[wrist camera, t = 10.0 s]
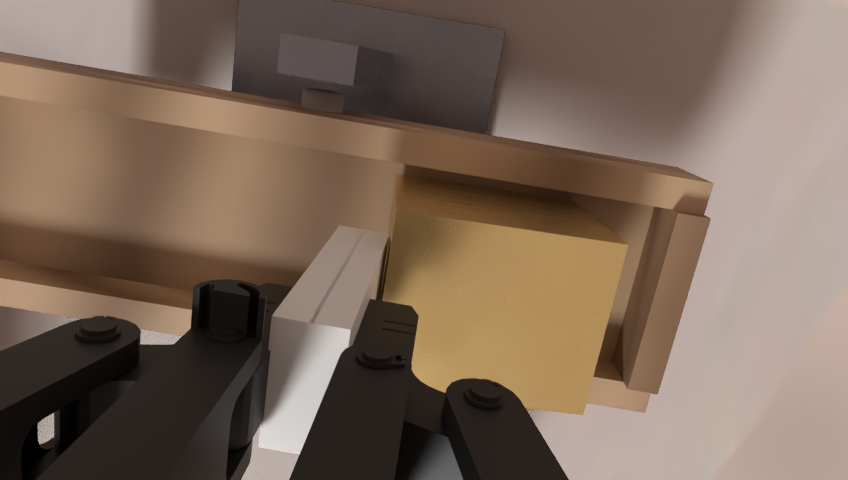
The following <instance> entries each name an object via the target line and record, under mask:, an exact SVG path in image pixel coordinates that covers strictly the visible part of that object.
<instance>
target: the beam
mask: <svg viewBox="0 0 848 480" xmlns="http://www.w3.org/2000/svg"><path fill="white" fill-rule="evenodd" d="M344 98H345V94H343V93H340V92H335V91H330V90H324V89H317V88H308V87H303V91H302V100H301V103H298V102H292V101H286V100H280V99H274V98H268V97H262V96H256V95H251V94H245V93H239V92H233V91H227V90H221V89H215V88H210V87H204V86H198V85H192V84H186V83H180V82H174V81H169V80H163V79H157V78H151V77H145V76H139V75H133V74H127V73H122V72H116V71H110V70H104V69H98V68H92V67H86V66H81V65H75V64H69V63H63V62H57V61H51V60H45V59H40V58H34V57H28V56H22V55H16V54H10V53H4V52H0V306H6V307H12V308H18V309H24V310H30V311H36V312H42V313H48V314H54V315H60V316H66V317H72V318H78V319H85V318H92V317H94V316H104V317H106V316H113V317H116V318H119V319H124V320H128V321H130V322H132V323H134V324H136V325H137V326H138V328H139V329H144V330H150V331H156V332H162V333H168V334H174V335H180V336H183V335H184V334H185V333H186V332H187V331H188V330H189V329H190V328H191V316H192V300H193V286H195V285H197V284H199V283H201V282H206V281H210V280H220V279H231V280H241V281H245V282H249V283H253V284H256V285H258V286H260V285H263V284H265V283H273V284H278V285H284V286H290V287H294V286H295V284H296V283H297V282H298V280H299V279H300V278H301V276H302V275H303V274H304V272H305V271H306V270H307V268H308V267H309V266H310V264H311V263H312V262H313V260H314V259H315V258H316V256H317V255H318V254H319V252H320V251H321V250H322V248H323V247H324V246H325V244H326V243H327V242H328V240H329V239H330V238H331V236H332V235H333V234H334V232H335V231H336V230H337V228H338V227H339V226H340V225H341V226H347V227H352V228H358V229H364V230H370V231H376V232H381V233H387V227H388V221H389V214H390V208H391V201H392V195H393V188H394V181H395V175H396V174H401V175H408V176H414V177H421V178H427V179H434V180H440V181H447V182H453V183H460V184H466V185H473V186H479V187H486V188H492V189H499V190H505V191H512V192H518V193H525V194H531V195H538V196H544V197H551V198H557V199H564V200H570V201H574V202H576V203H577V204H578V205H579V206H581V207H582V208H583V209H584V210H586V211H587V212H588V213H589V214H591V215H592V216H593V217H594V218H596V219H597V220H598V221H599V222H601V223H602V224H603V225H604V226H606V227H607V228H608V229H609V230H611V231H612V232H613V233H614V234H616V235H617V236H618V237H619V238H621V239H622V240H623V241H624V242H626V243H627V244H628V249H627V252H626V256H625V260H624V264H623V267H622V271H621V275H620V278H619V282H618V286H617V290H616V293H615V297H614V301H613V305H612V308H611V312H610V316H609V320H608V323H607V327H606V331H605V335H604V338H603V342H602V346H601V349H600V353H599V357H598V361H597V364H596V368H595V372H594V376H593V379H592V383H591V387H590V391H589V394H588V398H587V402H586V403H590V404H596V405H602V406H608V407H614V408H620V409H626V410H632V411H638V412H644V413H645V411H646V407H647V404H648V401H649V397H650V394H651V393H653V394H658V391H659V388H660V385H661V381H662V378H663V375H664V371H665V368H666V365H667V361H668V358H669V355H670V352H671V348H672V345H673V342H674V338H675V335H676V332H677V328H678V325H679V322H680V319H681V315H682V312H683V309H684V305H685V302H686V299H687V295H688V292H689V289H690V285H691V282H692V279H693V276H694V272H695V269H696V266H697V262H698V259H699V256H700V252H701V249H702V246H703V243H704V239H705V236H706V233H707V229H708V226H709V223H710V218H709V217H707V216H705V215H704V213H705V210H706V207H707V203H708V200H709V197H710V193H711V190H712V187H713V183H712V182H709V181H707V180H705V179H703V178H700V177H698V176H696V175H693V174H691V173H689V172H687V171H684V170H682V169H680V168H678V167H673V166H667V165H661V164H655V163H649V162H643V161H638V160H632V159H626V158H620V157H614V156H608V155H602V154H597V153H591V152H585V151H579V150H573V149H567V148H561V147H555V146H550V145H544V144H538V143H532V142H526V141H520V140H514V139H509V138H503V137H497V136H491V135H485V134H479V133H473V132H468V131H462V130H456V129H450V128H444V127H438V126H432V125H426V124H421V123H415V122H409V121H403V120H397V119H391V118H385V117H380V116H374V115H368V114H362V113H356V112H350V111H344V110H343V105H344Z"/></svg>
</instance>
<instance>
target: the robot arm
mask: <svg viewBox="0 0 848 480" xmlns="http://www.w3.org/2000/svg"><path fill="white" fill-rule="evenodd" d="M389 235H390V234H387V233H381V232H376V231H370V230H364V229H358V228H352V227H347V226H341V225H340V226H339V227H338V228H337V230H336V231H335V232H334V234H333V235H332V236H331V238H330V239H329V240H328V242H327V243H326V244H325V246H324V247H323V248H322V250H321V251H320V252H319V254H318V255H317V256H316V258H315V259H314V260H313V262H312V263H311V264H310V266H309V267H308V268H307V270H306V271H305V272H304V274H303V275H302V276H301V278H300V279H299V280H298V282H297V283H296V284H295V286H294V287H290V286H284V285H278V284H273V283H265V284H263V285H260V286H258V285H256V284H253V283H249V282H245V281H241V280H231V279H220V280H210V281H206V282H201V283H199V284H197V285H195V286H193V300H192V316H191V328H190V329H189V330H188V331H187V332H186V333H185V334H184V335H183V336H182V337H181V338H180V339H179V340H178V341H177V342H176V343H175V344H173V345H140V334H141V330H140V329H139V328H138V326H137V325H136V324H134V323H132V322H130V321H128V320H124V319H119V318H116V317H113V316H106V317H104V316H94V317H92V318H85V319H80V320H76V321H73V322H70V323H67V324H64V325H62V326H60V327H57V328H55V329H52V330H50V331H48V332H45V333H43V334H41V335H38V336H36V337H33V338H31V339H29V340H26V341H24V342H22V343H19V344H17V345H14V346H12V347H10V348H7V349H5V350H2V351H0V480H241V478H242V476H243V474H244V473H245V471H246V469H247V467H248V465H249V463H250V458H251V451H252V441H253V436H254V435H255V433H256V431H257V429H258V427H259V426H260V435H259V444H258V447H260V448H266V449H272V450H277V451H283V452H289V453H294V454H300V455H299V457H298V460H297V462H296V465H295V467H294V470H293V472H292V474H291V477H290V479H289V480H569V479H568V478H567V476H566V474H565V473H564V471H563V470H562V468H561V466H560V465H559V463H558V461H557V460H556V458H555V456H554V455H553V453H552V451H551V450H550V448H549V446H548V445H547V443H546V441H545V440H544V438H543V437H542V435H541V433H540V432H539V430H538V428H537V427H536V425H535V423H534V422H533V420H532V418H531V417H530V415H529V413H528V412H527V410H526V408H525V407H524V405H523V404H522V402H521V400H520V399H519V398H518V397H517V396H516V395H515V394H514V392H513V391H511V390H509V389H508V388H506V387H504V386H502V385H501V384H500V383H497V382H495V381H494V382H492V380H488V379H477V378H467V379H460V380H457V381H454V382H452V383H451V384H450V385H449V386H448V387H447V389H446V393H444V392H441V391H439V390H436V389H434V388H432V387H430V386H428V385H426V384H425V383H423V382H421V381H420V380H419V379H418V378H417V377H416V376H415V375H414V373H413V371H412V364H411V363H412V357H413V350H414V344H415V337H416V331H417V324H418V318H419V315H418V314H417V313H416V311H415V310H414V309H413V307H412V306H409V305H403V304H398V303H392V302H386V301H380V294H381V287H382V281H383V274H384V268H385V261H386V255H387V248H388V242H389ZM52 413H54V438H52V439H50V440H49V441H47V442H46V443H43V444H40V445H39V442H38V429H37V423H38V422H40V421H41V420H42V419H43V418H45V417H47V416H49V415H50V414H52ZM260 424H261V425H260Z"/></svg>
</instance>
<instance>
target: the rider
mask: <svg viewBox="0 0 848 480" xmlns="http://www.w3.org/2000/svg"><path fill="white" fill-rule="evenodd" d="M387 234H390V235H389V242H388V248H387V255H386V261H385V268H384V274H383V281H382V287H381V294H380V301H386V302H392V303H398V304H403V305H409V306H412V307H413V309H414V310H415V311H416V313H417V314H418V315H419V318H418V324H417V331H416V337H415V344H414V350H413V357H412V363H411V364H412V371H413V373H414V375H415V376H416V377H417V378H418V379H419V380H420V381H421V382H423V383H425V384H426V385H428V386H430V387H432V388H434V389H436V390H439V391H441V392H444V393H446V389H447V387H448V386H449V385H450V384H451V383H452V382H454V381H457V380H460V379H467V378H477V379H488V380H492V382H494V381H495V382H497V383H500V384H501V385H502V386H504V387H506V388H508V389H509V390H511V391H513V392H514V394H515V395H516V396H517V397H518V398H519V399H520V400H521V402H522V404H523V405H524V407H525V408H530V409H538V410H546V411H555V412H563V413H571V414H579V415H583V413H584V409H585V406H586V402H587V398H588V394H589V391H590V387H591V383H592V379H593V376H594V372H595V368H596V364H597V361H598V357H599V353H600V349H601V346H602V342H603V338H604V335H605V331H606V327H607V323H608V320H609V316H610V312H611V308H612V305H613V301H614V297H615V293H616V290H617V286H618V282H619V278H620V275H621V271H622V267H623V264H624V260H625V256H626V252H627V249H628V244H627V243H626V242H624V241H623V240H622V239H621V238H619V237H618V236H617V235H616V234H614V233H613V232H612V231H611V230H609V229H608V228H607V227H606V226H604V225H603V224H602V223H601V222H599V221H598V220H597V219H596V218H594V217H593V216H592V215H591V214H589V213H588V212H587V211H586V210H584V209H583V208H582V207H581V206H579V205H578V204H577V203H576V202H574V201H570V200H564V199H557V198H551V197H544V196H538V195H531V194H525V193H518V192H512V191H505V190H499V189H492V188H486V187H479V186H473V185H466V184H460V183H453V182H447V181H440V180H434V179H427V178H421V177H414V176H408V175H401V174H396V175H395V181H394V188H393V195H392V201H391V208H390V214H389V221H388V227H387Z"/></svg>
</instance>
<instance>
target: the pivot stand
mask: <svg viewBox="0 0 848 480" xmlns="http://www.w3.org/2000/svg"><path fill="white" fill-rule="evenodd" d="M504 34H505V30H503V29H497V28H492V27H486V26H480V25H474V24H468V23H462V22H456V21H451V20H445V19H439V18H433V17H427V16H421V15H415V14H410V13H404V12H398V11H392V10H386V9H380V8H374V7H368V6H363V5H357V4H351V3H345V2H339V1H333V0H239V1H238V14H237V28H236V41H235V54H234V67H233V80H232V91H233V92H239V93H245V94H251V95H256V96H262V97H268V98H274V99H280V100H286V101H292V102H298V103H301V100H302V91H303V87H308V88H317V89H324V90H330V91H335V92H340V93H343V94H345V98H344V105H343V110H344V111H350V112H356V113H362V114H368V115H374V116H380V117H385V118H391V119H397V120H403V121H409V122H415V123H421V124H426V125H432V126H438V127H444V128H450V129H456V130H462V131H468V132H473V133H479V134H485V133H486V128H487V123H488V118H489V113H490V107H491V102H492V97H493V92H494V86H495V81H496V76H497V71H498V65H499V60H500V55H501V50H502V44H503V39H504Z"/></svg>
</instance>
